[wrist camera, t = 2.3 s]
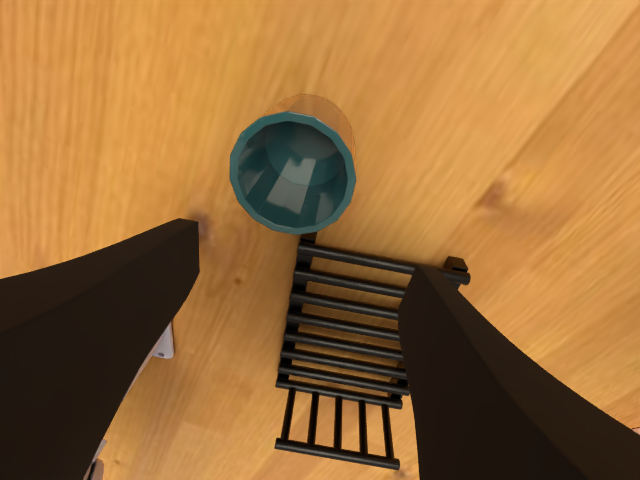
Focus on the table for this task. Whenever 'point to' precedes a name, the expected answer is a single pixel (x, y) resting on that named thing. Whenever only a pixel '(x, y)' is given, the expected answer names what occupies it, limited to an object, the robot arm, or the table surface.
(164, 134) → the table surface
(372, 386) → the rack
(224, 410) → the table surface
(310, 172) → the cup
